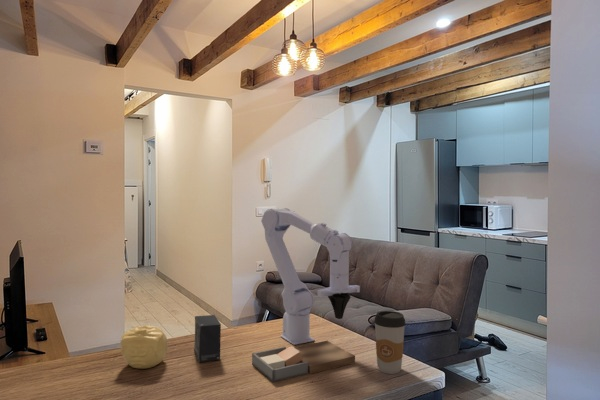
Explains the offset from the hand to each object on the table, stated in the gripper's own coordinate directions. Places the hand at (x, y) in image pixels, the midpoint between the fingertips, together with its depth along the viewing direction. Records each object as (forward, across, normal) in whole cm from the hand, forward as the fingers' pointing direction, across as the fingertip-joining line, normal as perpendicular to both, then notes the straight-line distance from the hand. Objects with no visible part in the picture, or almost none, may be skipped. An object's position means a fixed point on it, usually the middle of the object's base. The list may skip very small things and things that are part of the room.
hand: (338, 318), depth 126 cm
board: (+10, -9, -3) cm, 14 cm away
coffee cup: (+10, +4, -18) cm, 21 cm away
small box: (+10, -36, +16) cm, 41 cm away
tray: (+10, -22, -3) cm, 24 cm away
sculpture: (+10, -53, +18) cm, 57 cm away
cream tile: (+9, -24, -3) cm, 26 cm away
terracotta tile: (+9, -18, -3) cm, 21 cm away
